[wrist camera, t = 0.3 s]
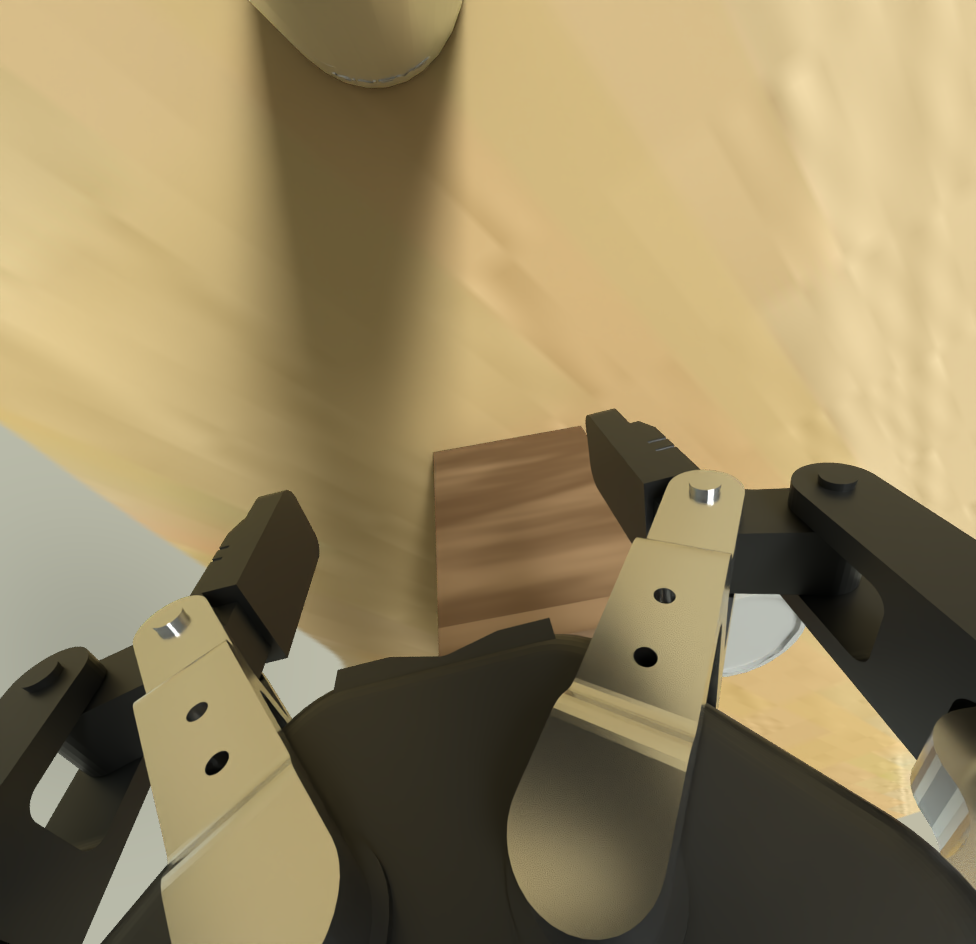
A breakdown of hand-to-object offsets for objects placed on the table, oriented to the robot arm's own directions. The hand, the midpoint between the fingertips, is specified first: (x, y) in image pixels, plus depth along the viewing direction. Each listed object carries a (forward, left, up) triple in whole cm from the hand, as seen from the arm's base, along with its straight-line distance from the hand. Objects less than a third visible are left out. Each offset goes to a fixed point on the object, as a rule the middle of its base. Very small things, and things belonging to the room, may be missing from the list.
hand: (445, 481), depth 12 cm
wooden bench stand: (+21, +3, -19) cm, 28 cm away
